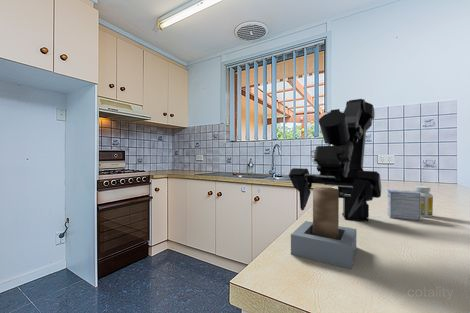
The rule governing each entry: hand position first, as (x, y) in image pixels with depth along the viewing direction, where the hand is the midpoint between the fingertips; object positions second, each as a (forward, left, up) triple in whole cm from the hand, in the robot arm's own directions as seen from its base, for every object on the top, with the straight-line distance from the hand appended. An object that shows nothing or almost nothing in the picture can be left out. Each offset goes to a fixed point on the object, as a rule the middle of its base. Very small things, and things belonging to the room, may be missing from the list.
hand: (323, 212), depth 46 cm
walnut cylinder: (+1, +1, -8) cm, 8 cm away
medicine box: (+26, +35, -8) cm, 45 cm away
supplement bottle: (+33, +40, -8) cm, 53 cm away
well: (0, +1, -8) cm, 8 cm away
